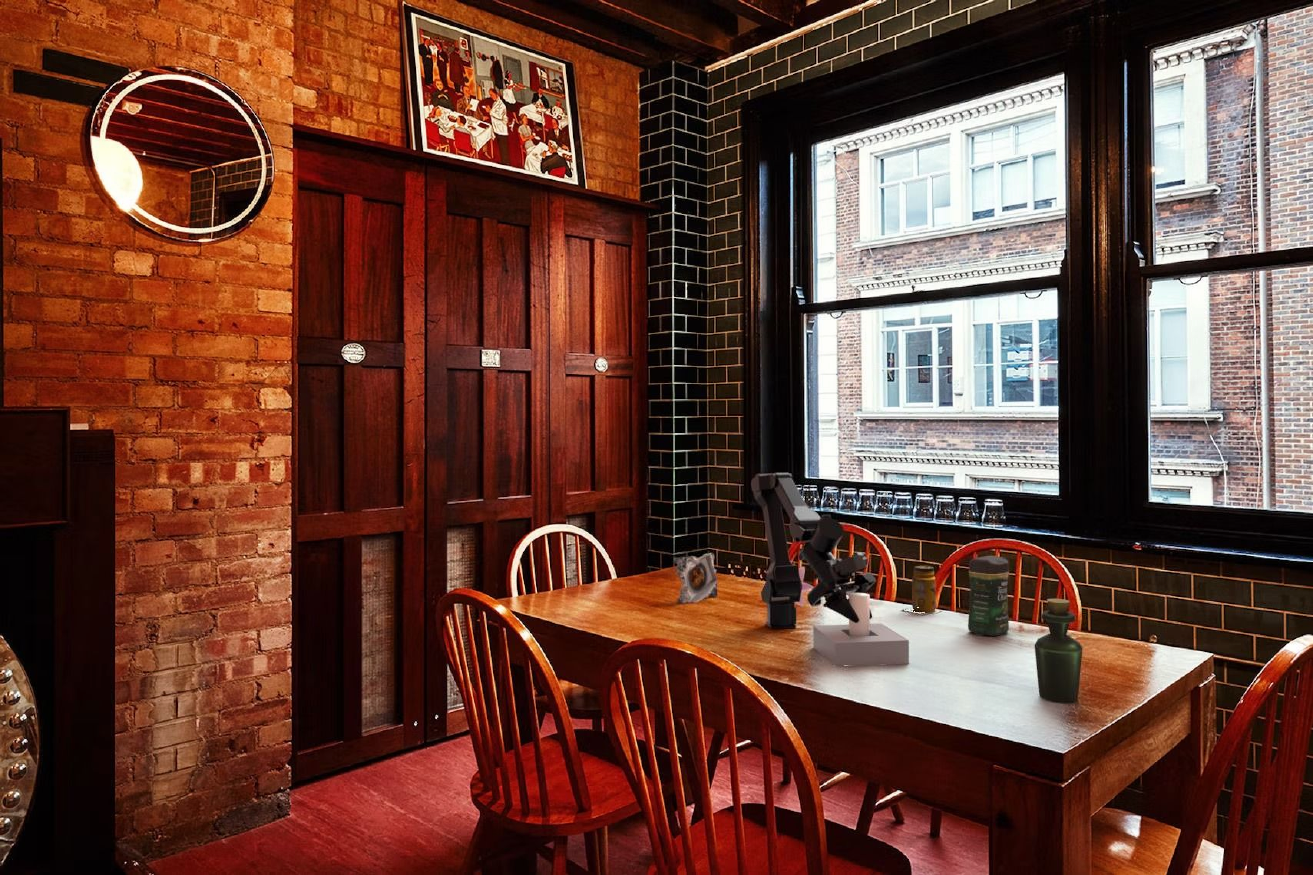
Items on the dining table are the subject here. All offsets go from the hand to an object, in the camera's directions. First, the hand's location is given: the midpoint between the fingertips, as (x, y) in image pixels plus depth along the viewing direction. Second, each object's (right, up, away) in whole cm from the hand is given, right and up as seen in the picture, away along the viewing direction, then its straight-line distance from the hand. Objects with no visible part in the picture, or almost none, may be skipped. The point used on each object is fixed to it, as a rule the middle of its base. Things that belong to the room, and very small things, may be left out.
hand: (864, 620), depth 192 cm
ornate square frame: (-34, -8, +64) cm, 73 cm away
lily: (-7, -7, +59) cm, 60 cm away
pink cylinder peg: (-1, -7, +1) cm, 7 cm away
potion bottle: (+29, -8, -30) cm, 42 cm away
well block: (-1, -8, +1) cm, 8 cm away
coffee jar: (+35, -8, +21) cm, 42 cm away
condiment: (+26, -7, +46) cm, 54 cm away
